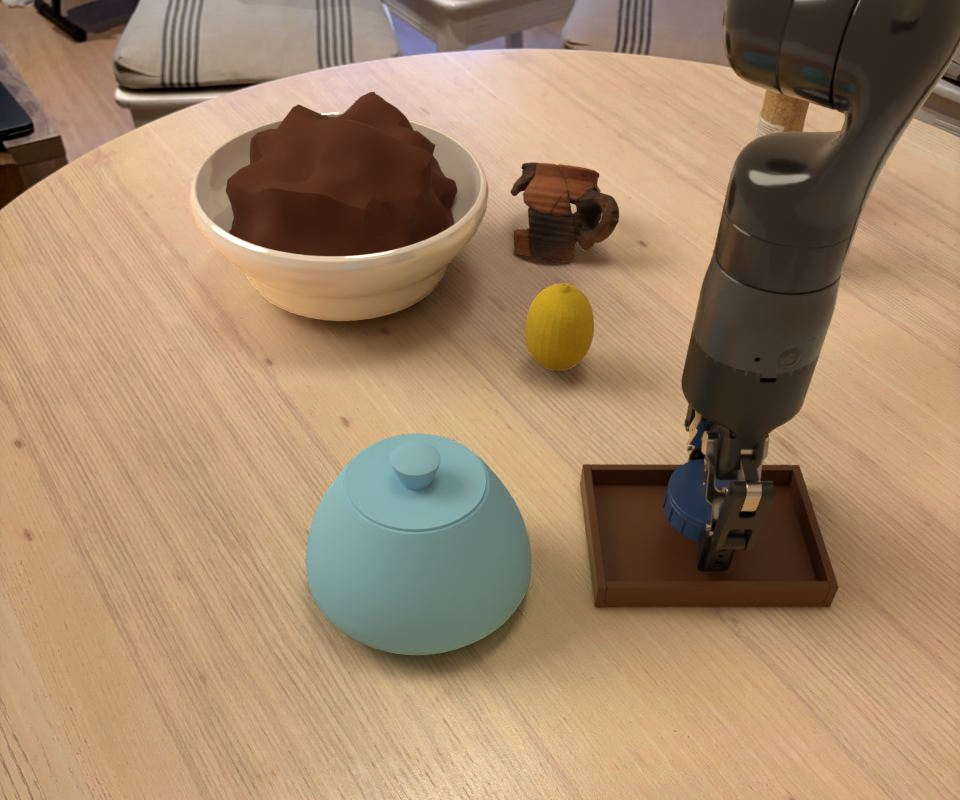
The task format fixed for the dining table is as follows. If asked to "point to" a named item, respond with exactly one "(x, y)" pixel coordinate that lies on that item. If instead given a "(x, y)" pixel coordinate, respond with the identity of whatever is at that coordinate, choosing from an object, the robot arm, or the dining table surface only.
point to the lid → (688, 499)
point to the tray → (672, 556)
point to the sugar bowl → (417, 547)
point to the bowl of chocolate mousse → (341, 208)
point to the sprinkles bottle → (781, 114)
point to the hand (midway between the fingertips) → (703, 531)
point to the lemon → (559, 327)
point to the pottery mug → (562, 211)
